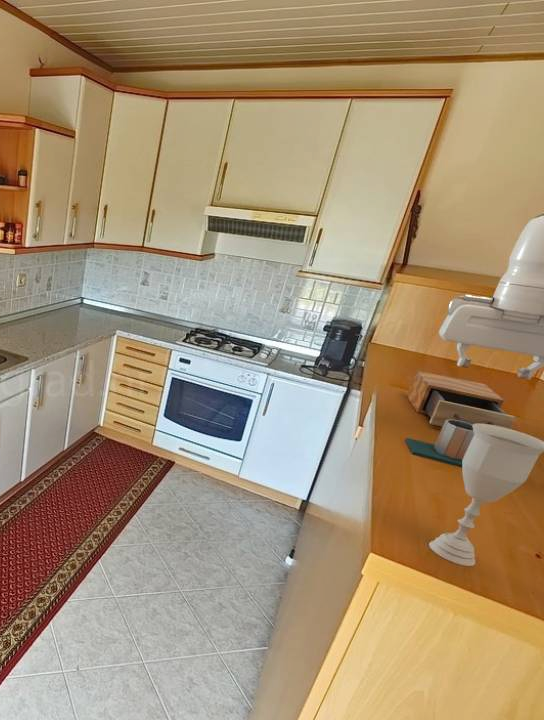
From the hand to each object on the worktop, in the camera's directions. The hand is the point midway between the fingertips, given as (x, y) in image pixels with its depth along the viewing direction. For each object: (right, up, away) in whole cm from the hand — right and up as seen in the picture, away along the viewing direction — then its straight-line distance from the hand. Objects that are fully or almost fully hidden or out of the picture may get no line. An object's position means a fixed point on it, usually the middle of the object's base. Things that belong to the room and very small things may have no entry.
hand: (492, 372), depth 95 cm
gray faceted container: (-6, -17, +3) cm, 18 cm away
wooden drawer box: (+10, -12, +19) cm, 24 cm away
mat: (-6, -17, +3) cm, 18 cm away
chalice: (-32, -26, -28) cm, 50 cm away
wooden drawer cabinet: (+17, -9, +31) cm, 36 cm away
